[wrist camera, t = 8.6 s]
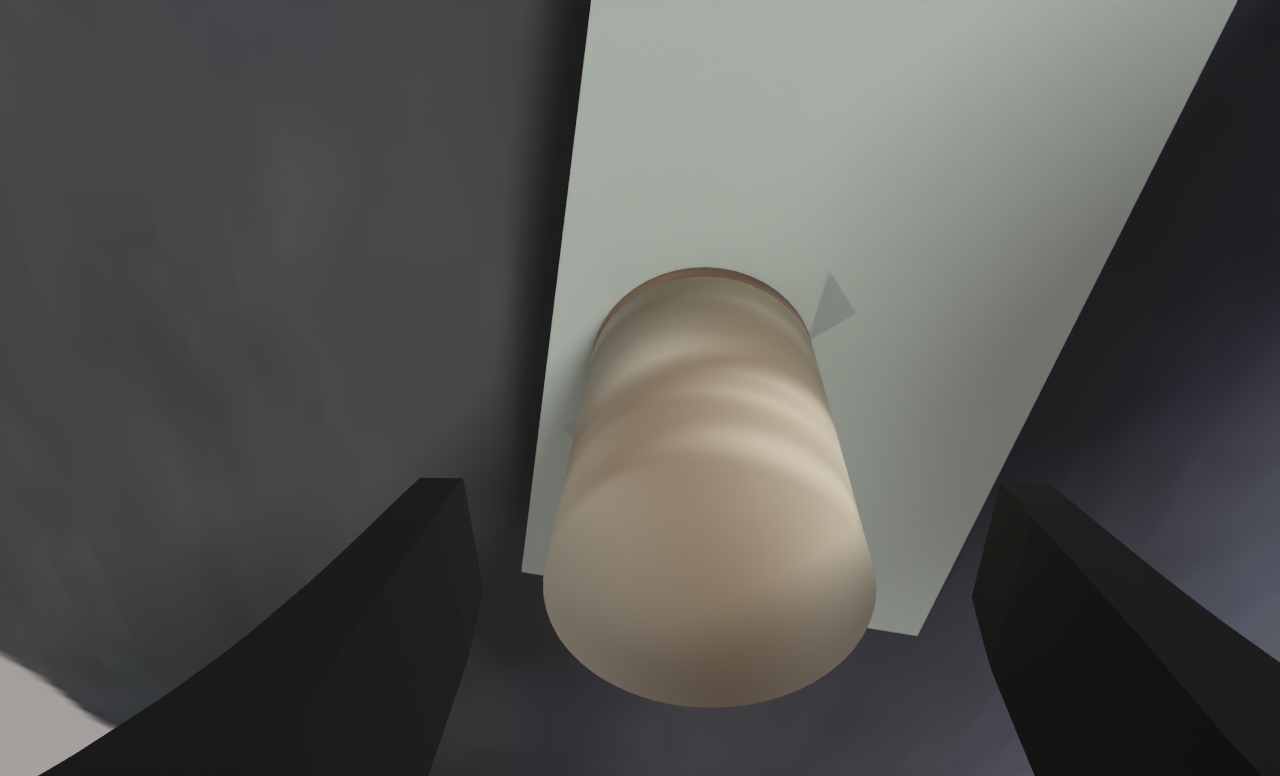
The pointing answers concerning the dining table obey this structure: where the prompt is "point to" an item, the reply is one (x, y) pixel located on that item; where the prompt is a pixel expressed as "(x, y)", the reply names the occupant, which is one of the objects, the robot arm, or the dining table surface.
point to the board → (871, 216)
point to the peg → (707, 502)
